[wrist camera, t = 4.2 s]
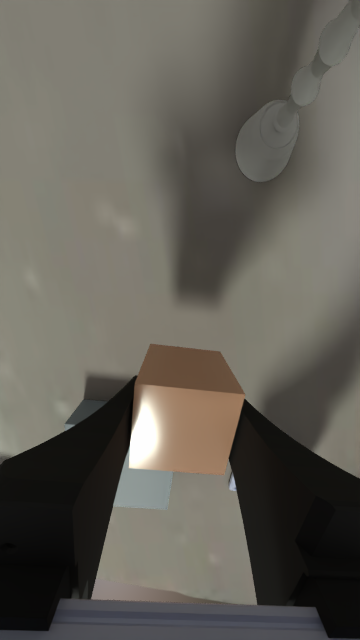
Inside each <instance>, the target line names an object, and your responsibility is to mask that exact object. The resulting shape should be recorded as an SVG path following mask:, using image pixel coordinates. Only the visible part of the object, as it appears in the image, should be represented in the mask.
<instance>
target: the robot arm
mask: <svg viewBox="0 0 360 640" xmlns="http://www.w3.org/2000/svg"><path fill="white" fill-rule="evenodd" d="M137 377H138V376H134V377H133V378H132V379H131V380H130V381H129V383H128V384H127V385H126V386H125V387H124V388H123V389H121V390H120V391H119V392H118V393H117V394H116V395H115V396H114V397H113V398H112V399H110V400H109V401H108V402H107V403H106V404H105V405H103V406H102V407H101V408H99V409H98V410H97V411H95V412H94V413H93V414H91V415H90V416H89V417H87V418H86V419H84V420H82V421H81V422H79V423H78V424H76V425H74V426H73V427H71V428H70V429H68V430H66V431H64V432H63V433H61V434H59V435H57V436H55V437H53V438H51V439H50V440H48V441H46V442H44V443H42V444H40V445H38V446H36V447H33V448H31V449H29V450H27V451H25V452H23V453H20V454H18V455H16V456H14V457H12V458H9V459H7V460H5V461H4V462H3V463H2V464H1V465H0V640H360V479H359V478H357V477H355V476H353V475H352V474H350V473H348V472H346V471H344V470H342V469H340V468H339V467H337V466H335V465H334V464H332V463H330V462H328V461H327V460H325V459H323V458H322V457H320V456H318V455H317V454H315V453H314V452H312V451H310V450H309V449H307V448H306V447H304V446H303V445H301V444H300V443H298V442H297V441H295V440H294V439H292V438H291V437H290V436H288V435H287V434H286V433H284V432H283V431H282V430H280V429H279V428H278V427H276V426H275V425H274V424H273V423H271V422H270V421H269V420H268V419H267V418H265V417H264V416H263V415H262V414H261V413H260V412H258V411H257V410H256V409H255V408H254V407H253V406H252V405H251V404H250V403H249V402H248V401H247V400H245V399H244V401H243V405H242V409H241V413H240V417H239V420H238V424H237V428H236V432H235V436H234V439H233V443H232V447H231V451H230V455H229V462H230V465H231V469H232V475H231V478H230V482H229V489H230V490H232V491H237V494H238V499H239V504H240V509H241V514H242V519H243V524H244V529H245V535H246V540H247V546H248V551H249V556H250V562H251V568H252V574H253V580H254V586H255V592H256V598H257V605H238V604H209V603H207V604H206V603H178V602H150V601H149V602H148V601H120V600H92V599H91V597H92V591H93V588H94V584H95V579H96V575H97V571H98V567H99V562H100V558H101V554H102V550H103V545H104V541H105V537H106V533H107V529H108V525H109V521H110V516H111V512H112V508H113V504H114V500H115V496H116V492H117V488H118V484H119V481H120V477H121V473H122V469H123V465H124V462H125V459H126V456H127V453H128V450H129V447H130V443H131V429H132V415H133V401H134V387H135V382H136V379H137Z"/></svg>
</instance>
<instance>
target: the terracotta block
mask: <svg viewBox="0 0 360 640" xmlns="http://www.w3.org/2000/svg"><path fill="white" fill-rule="evenodd" d="M244 398H245V393H244V392H243V390H242V388H241V386H240V385H239V383H238V381H237V380H236V378H235V376H234V374H233V373H232V371H231V369H230V368H229V366H228V364H227V363H226V361H225V359H224V357H223V356H222V354H221V352H219V351H210V350H201V349H192V348H183V347H174V346H165V345H156V344H150V346H149V349H148V351H147V354H146V356H145V359H144V361H143V364H142V366H141V369H140V372H139V374H138V377H137V379H136V382H135V387H134V401H133V415H132V429H131V443H130V457H129V468H134V469H147V470H161V471H174V472H188V473H201V474H215V475H224V473H225V470H226V466H227V462H228V458H229V455H230V451H231V447H232V443H233V439H234V436H235V432H236V428H237V424H238V420H239V417H240V413H241V409H242V405H243V401H244Z"/></svg>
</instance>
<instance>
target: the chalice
mask: <svg viewBox="0 0 360 640" xmlns="http://www.w3.org/2000/svg"><path fill="white" fill-rule="evenodd" d="M359 27H360V0H350V1H349V3H348V4H347V5H346V6H345V8H344V9H343V10H342V11H341V13H340V14H339V15H338V17H337V18H335V19H333V20H332V21H330V22H329V23H328V24H327V25H326V26H325V28H324V29H323V31H322V33H321V36H320V40H319V46H318V50H317V53H316V55H315V57H314V60H313V61H312V62H311V63H310V64H309V65H308V66H304V67H302V68H301V69H299V70H298V71H297V73H296V74H295V76H294V78H293V80H292V84H291V95H290V97H289V99H288V101H287V100H274V101H271V102H268V103H267V104H266V105H265V106H263V107H262V108H261V109H260V110H259V111H258V112H256V113H255V114H254V115H253V116H252V117H250V118H249V119H248V120H247V121H246V122H245V124H244V125H243V126H242V128H241V129H240V132H239V134H238V137H237V140H236V149H235V154H236V160H237V164H238V166H239V168H240V170H241V172H242V173H243V174H244V175H245V176H246V177H247V178H249V179H251V180H253V181H255V182H265V181H269V180H272V179H273V178H275V177H276V176H277V175H279V174H280V173H281V172H282V171H283V169H284V168H285V167H286V165H287V163H288V161H289V158H290V156H291V153H292V150H293V148H294V145H295V142H296V140H297V138H298V133H299V114H298V112H297V111H298V110H299V109H300V108H301V107H302V106H306V105H309V104H310V103H312V102H313V101H314V99H315V98H316V97H317V94H318V92H319V88H320V81H321V79H322V77H323V75H324V73H325V72H327V71H328V70H329V69H330V68H331V67H332V66H335V65H337V64H339V63H340V62H341V61H343V59H344V58H345V57H346V55H347V53H348V51H349V48H350V45H351V41H352V39H353V37H354V35H355V34H356V32H357V30H358V28H359Z"/></svg>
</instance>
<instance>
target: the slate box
mask: <svg viewBox="0 0 360 640" xmlns="http://www.w3.org/2000/svg"><path fill="white" fill-rule="evenodd" d="M106 403H107V401H96V400H85V399H83V401H82V402H81V403H80V405H79V406H78V407H77V409H76V410H75V411H74V412H73V414H72V415H71V416H70V418H69V419H68V420H67V422H66V423H65V431H66V430H68V429H70V428H71V427H73V426H74V425H76V424H78V423H79V422H81V421H82V420H84V419H86V418H87V417H89V416H90V415H91V414H93V413H94V412H95V411H97V410H98V409H99V408H101V407H102V406H103V405H105V404H106ZM129 457H130V447H129V450H128V453H127V456H126V459H125V462H124V465H123V469H122V473H121V477H120V481H119V484H118V488H117V492H116V496H115V500H114V504H113V506H117V507H133V508H149V509H165V510H167V508H168V502H169V495H170V489H171V483H172V476H173V471H161V470H147V469H134V468H129Z"/></svg>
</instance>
